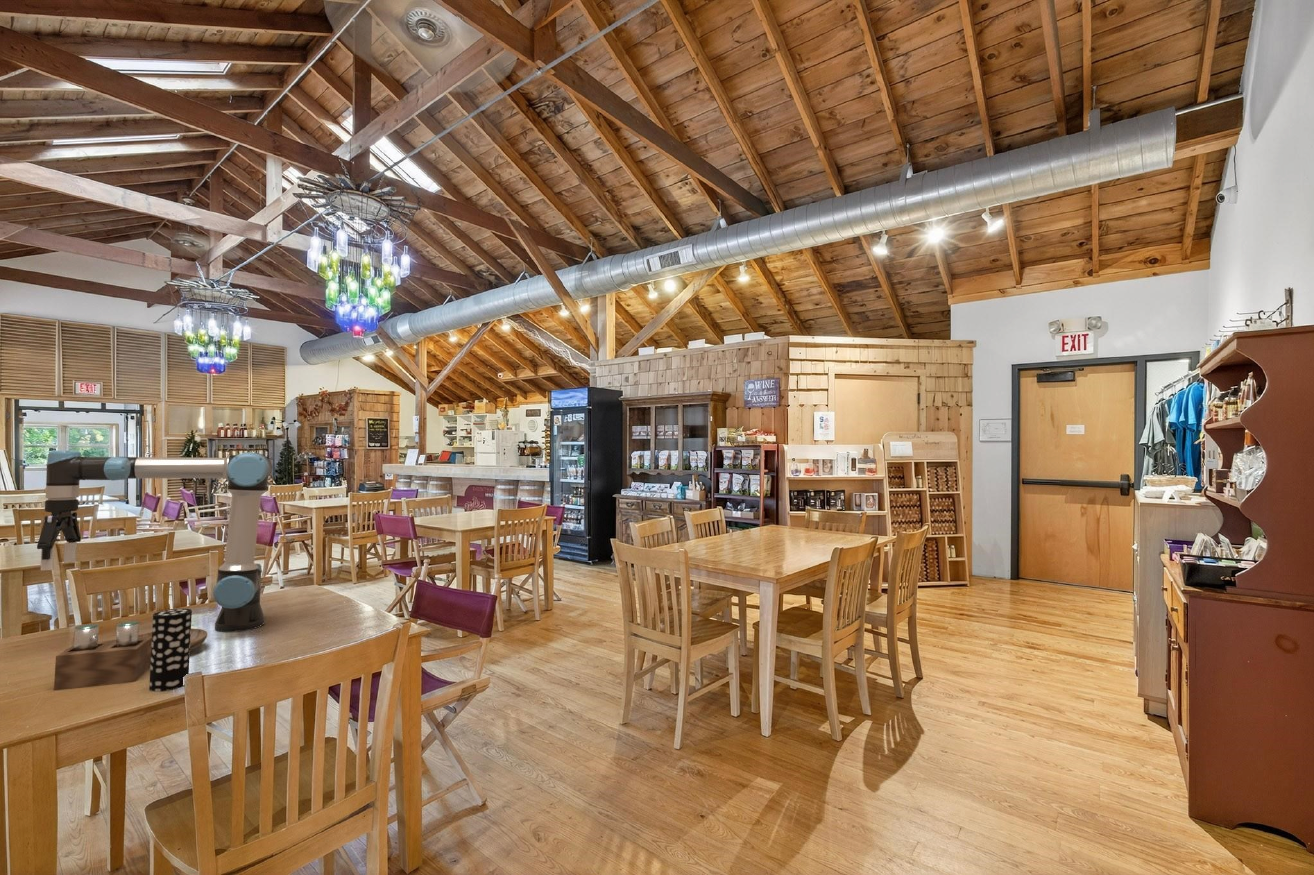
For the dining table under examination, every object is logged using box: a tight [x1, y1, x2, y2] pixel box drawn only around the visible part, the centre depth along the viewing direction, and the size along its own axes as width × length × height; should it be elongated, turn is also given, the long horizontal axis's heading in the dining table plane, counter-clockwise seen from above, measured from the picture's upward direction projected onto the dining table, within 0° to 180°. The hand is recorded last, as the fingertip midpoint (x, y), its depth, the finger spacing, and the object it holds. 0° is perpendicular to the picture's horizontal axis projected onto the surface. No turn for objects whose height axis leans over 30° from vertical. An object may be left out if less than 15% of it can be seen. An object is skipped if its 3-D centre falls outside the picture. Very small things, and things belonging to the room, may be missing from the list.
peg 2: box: [115, 620, 140, 648], centre depth 169 cm, size 5×5×8 cm
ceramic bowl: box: [138, 628, 208, 651], centre depth 188 cm, size 23×24×5 cm
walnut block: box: [53, 637, 152, 691], centre depth 167 cm, size 17×12×9 cm
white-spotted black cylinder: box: [148, 608, 193, 692], centre depth 163 cm, size 8×8×20 cm
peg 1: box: [73, 623, 100, 651], centre depth 165 cm, size 5×5×8 cm
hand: (58, 566), depth 187 cm, fingers open, 13 cm apart
